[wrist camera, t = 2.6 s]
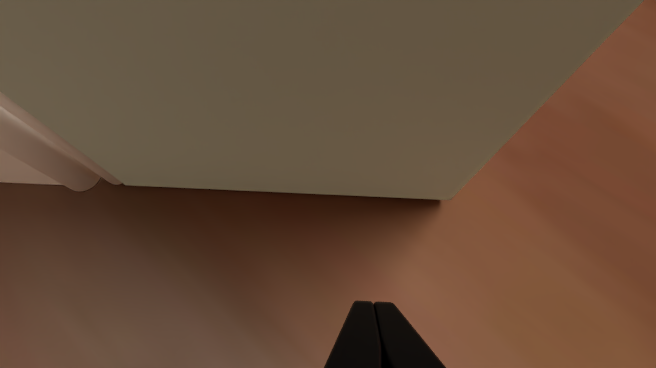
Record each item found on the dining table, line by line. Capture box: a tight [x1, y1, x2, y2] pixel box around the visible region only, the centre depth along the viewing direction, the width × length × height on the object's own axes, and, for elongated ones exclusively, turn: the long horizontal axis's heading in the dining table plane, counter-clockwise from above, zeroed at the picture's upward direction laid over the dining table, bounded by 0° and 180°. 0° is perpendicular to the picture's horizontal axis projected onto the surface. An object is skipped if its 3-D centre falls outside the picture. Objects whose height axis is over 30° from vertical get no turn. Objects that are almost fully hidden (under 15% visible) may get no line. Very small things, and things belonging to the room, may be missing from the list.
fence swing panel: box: [0, 0, 644, 200], centre depth 13 cm, size 17×1×12 cm, turn 87°
